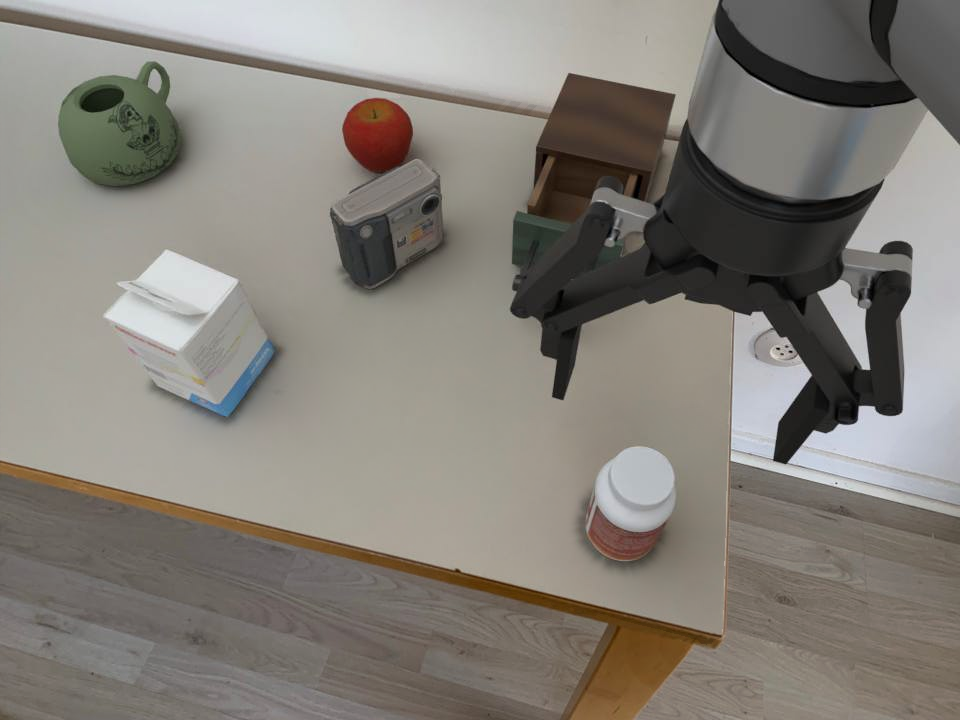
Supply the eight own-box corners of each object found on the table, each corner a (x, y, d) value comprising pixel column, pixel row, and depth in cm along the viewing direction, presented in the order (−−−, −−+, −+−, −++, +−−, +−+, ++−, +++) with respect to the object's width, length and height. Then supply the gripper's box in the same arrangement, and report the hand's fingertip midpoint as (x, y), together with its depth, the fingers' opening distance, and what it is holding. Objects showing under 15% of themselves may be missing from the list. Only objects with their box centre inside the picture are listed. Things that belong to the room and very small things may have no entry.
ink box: (277, 352, 73) (237, 265, 61) (226, 420, 69) (174, 340, 57) (208, 322, 75) (156, 232, 63) (154, 386, 71) (89, 302, 59)
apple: (421, 178, 85) (415, 124, 79) (354, 190, 84) (342, 136, 78) (409, 134, 89) (403, 79, 83) (345, 145, 89) (334, 90, 82)
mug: (140, 207, 83) (106, 148, 76) (53, 175, 87) (13, 115, 79) (223, 122, 91) (200, 61, 84) (141, 95, 94) (111, 33, 87)
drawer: (597, 338, 72) (606, 295, 66) (492, 310, 74) (492, 266, 68) (637, 211, 81) (648, 164, 75) (542, 189, 83) (546, 142, 77)
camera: (363, 297, 76) (347, 231, 68) (336, 263, 79) (317, 195, 70) (453, 247, 80) (449, 178, 71) (424, 216, 82) (416, 146, 74)
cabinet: (637, 230, 80) (651, 171, 73) (532, 205, 83) (536, 145, 76) (660, 155, 87) (675, 94, 80) (562, 133, 89) (568, 72, 82)
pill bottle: (667, 554, 61) (699, 506, 52) (596, 570, 60) (615, 523, 51) (643, 486, 64) (669, 429, 55) (575, 500, 64) (590, 445, 54)
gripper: (1148, 142, 27) (884, 417, 45) (498, 19, 31) (496, 312, 49) (1181, 298, 23) (878, 530, 41) (436, 131, 27) (458, 405, 45)
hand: (669, 411), depth 45 cm, fingers open, 13 cm apart
